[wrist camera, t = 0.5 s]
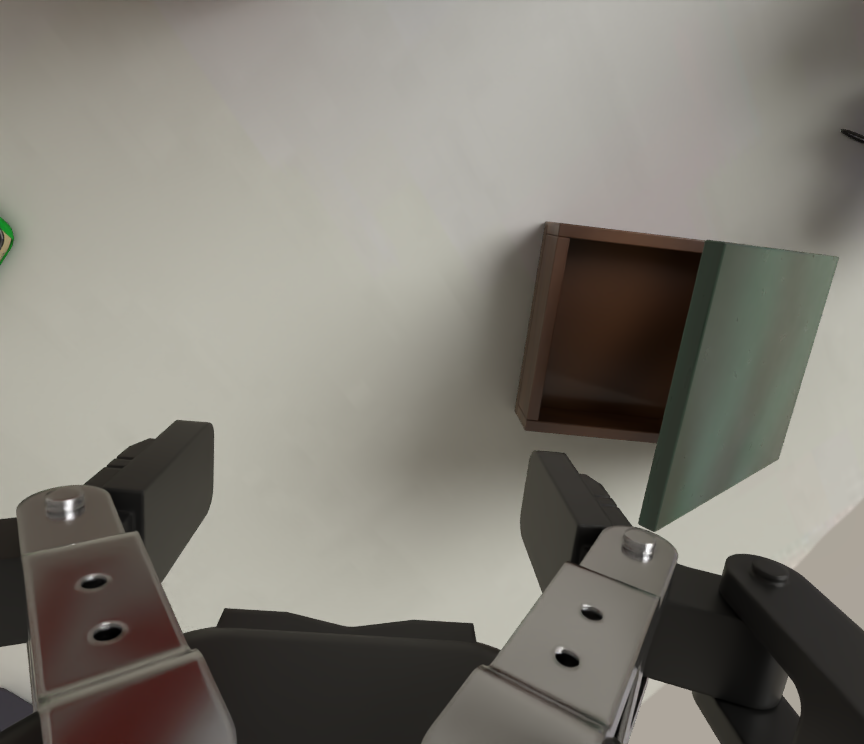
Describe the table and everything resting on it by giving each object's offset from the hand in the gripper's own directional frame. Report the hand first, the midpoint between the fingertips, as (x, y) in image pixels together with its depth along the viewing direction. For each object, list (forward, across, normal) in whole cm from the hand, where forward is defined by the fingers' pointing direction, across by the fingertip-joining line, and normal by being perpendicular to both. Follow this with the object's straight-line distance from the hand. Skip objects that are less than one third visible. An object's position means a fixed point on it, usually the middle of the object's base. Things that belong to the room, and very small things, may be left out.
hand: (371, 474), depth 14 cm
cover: (+14, -17, 0) cm, 22 cm away
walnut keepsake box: (+23, -16, 0) cm, 28 cm away
